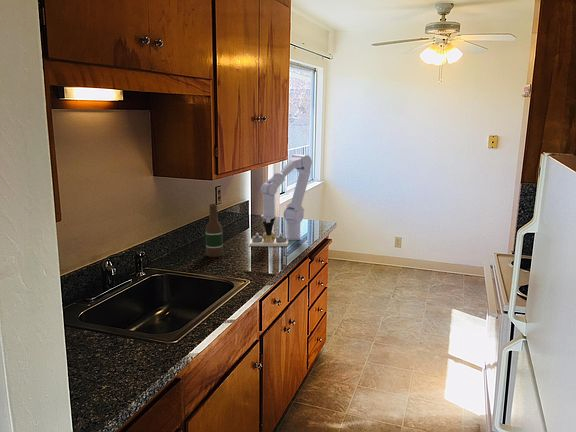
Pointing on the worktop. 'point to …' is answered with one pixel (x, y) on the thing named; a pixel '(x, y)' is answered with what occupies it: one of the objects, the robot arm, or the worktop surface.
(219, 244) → the beer bottle
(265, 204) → the robot arm
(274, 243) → the gear board
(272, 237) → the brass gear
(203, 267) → the worktop surface
